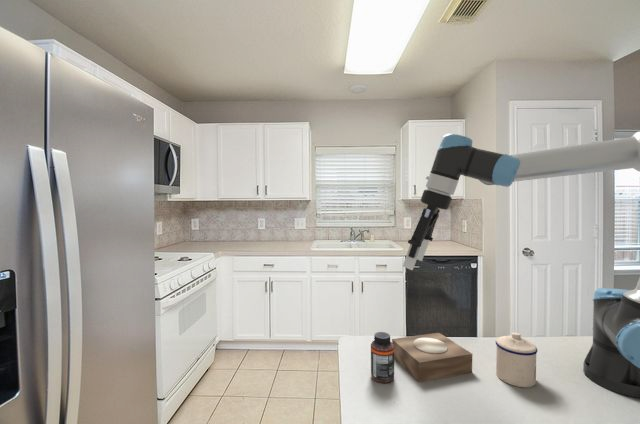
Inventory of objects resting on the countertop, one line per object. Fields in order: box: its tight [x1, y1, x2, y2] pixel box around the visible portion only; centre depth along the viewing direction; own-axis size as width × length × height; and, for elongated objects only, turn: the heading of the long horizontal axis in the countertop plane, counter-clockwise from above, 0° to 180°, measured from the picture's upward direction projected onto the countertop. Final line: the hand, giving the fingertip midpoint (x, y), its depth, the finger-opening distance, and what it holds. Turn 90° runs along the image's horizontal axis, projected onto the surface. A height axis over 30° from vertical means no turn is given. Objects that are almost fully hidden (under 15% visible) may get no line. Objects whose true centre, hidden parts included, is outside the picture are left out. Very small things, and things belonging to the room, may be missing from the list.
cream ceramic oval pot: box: [495, 332, 538, 388], centre depth 82 cm, size 12×9×12 cm
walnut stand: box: [391, 332, 473, 383], centre depth 88 cm, size 14×16×5 cm
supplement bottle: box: [370, 331, 395, 384], centre depth 81 cm, size 6×6×11 cm
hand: (412, 263), depth 89 cm, fingers open, 13 cm apart
